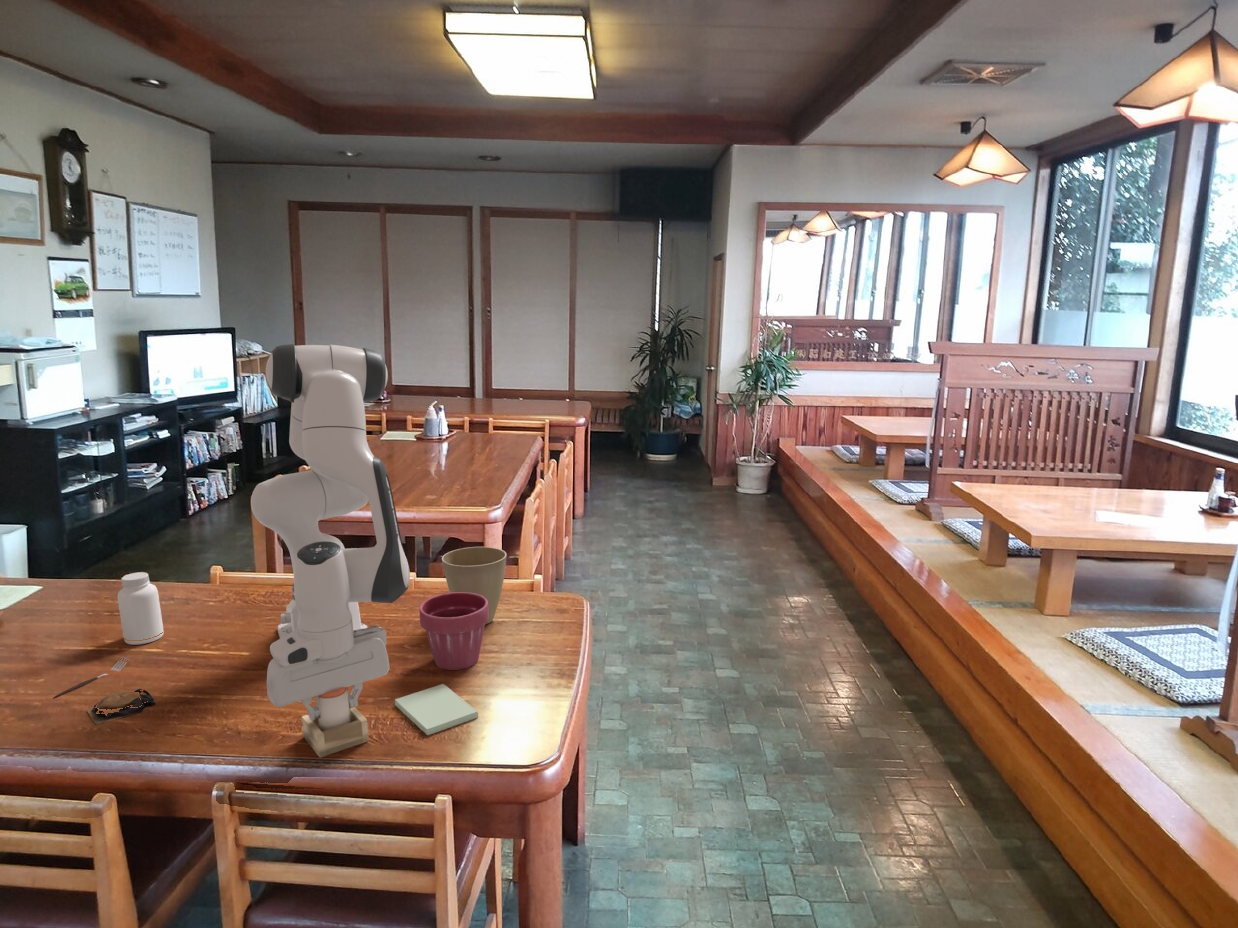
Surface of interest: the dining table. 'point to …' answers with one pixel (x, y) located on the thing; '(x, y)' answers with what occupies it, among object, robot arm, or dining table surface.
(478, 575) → the plant pot
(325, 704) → the shaker
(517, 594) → the dining table surface
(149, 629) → the pill bottle
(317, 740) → the holder
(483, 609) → the plant pot
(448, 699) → the pale green flat slab
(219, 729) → the dining table surface
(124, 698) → the sandwich
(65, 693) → the fork
